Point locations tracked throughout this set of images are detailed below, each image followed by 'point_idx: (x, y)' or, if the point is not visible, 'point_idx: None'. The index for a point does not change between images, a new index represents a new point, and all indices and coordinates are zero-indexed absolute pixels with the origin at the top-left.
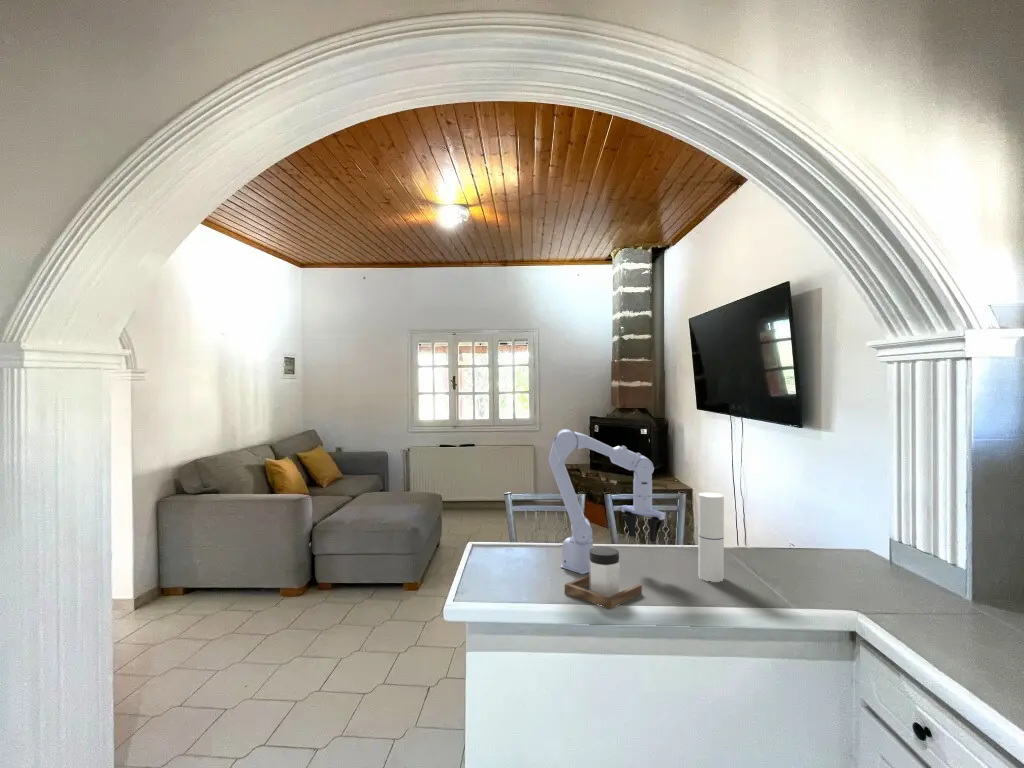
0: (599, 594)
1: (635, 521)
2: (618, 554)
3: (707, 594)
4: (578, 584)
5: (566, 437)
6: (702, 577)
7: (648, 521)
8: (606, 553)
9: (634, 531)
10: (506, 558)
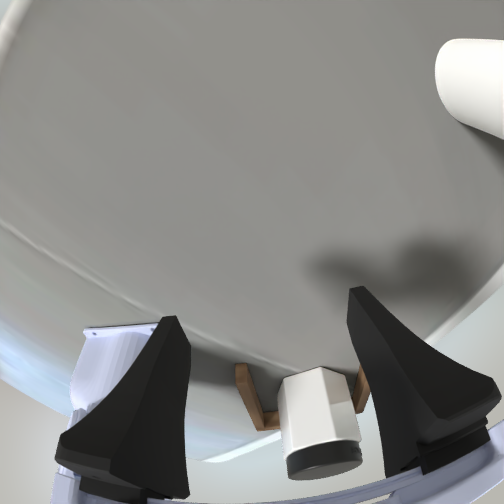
0: None
1: (146, 403)
2: (361, 457)
3: (492, 219)
4: (260, 412)
5: None
6: (466, 124)
7: (387, 467)
8: (341, 470)
9: (171, 343)
10: (48, 387)
